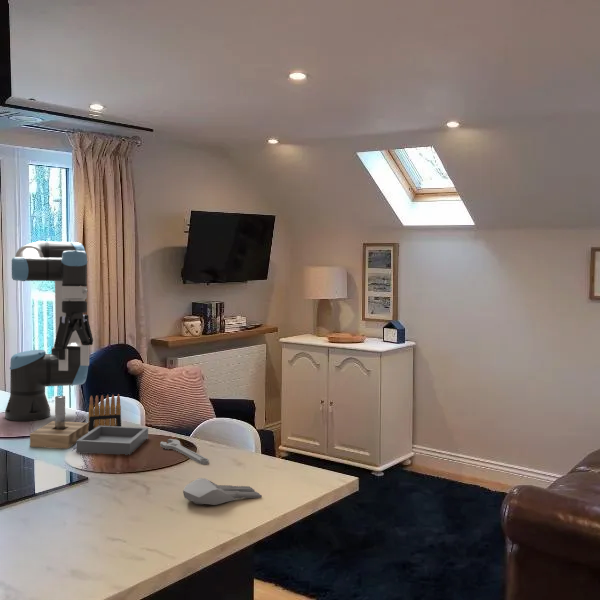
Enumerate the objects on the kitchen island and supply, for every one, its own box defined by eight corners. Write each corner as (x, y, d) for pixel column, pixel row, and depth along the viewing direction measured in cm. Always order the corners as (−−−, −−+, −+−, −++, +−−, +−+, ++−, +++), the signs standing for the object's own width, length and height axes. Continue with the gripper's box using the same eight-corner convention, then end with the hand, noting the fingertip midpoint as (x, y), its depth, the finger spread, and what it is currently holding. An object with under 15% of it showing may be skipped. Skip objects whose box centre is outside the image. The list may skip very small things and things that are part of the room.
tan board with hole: (52, 433, 232) (52, 421, 232) (88, 434, 231) (88, 422, 231) (30, 446, 216) (30, 433, 216) (68, 448, 215) (68, 435, 215)
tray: (98, 436, 230) (98, 425, 230) (148, 438, 228) (148, 427, 228) (76, 452, 211) (76, 440, 211) (129, 455, 210) (129, 443, 210)
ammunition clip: (88, 431, 235) (88, 396, 234) (87, 430, 236) (88, 395, 236) (121, 429, 239) (121, 394, 238) (120, 428, 241) (120, 393, 240)
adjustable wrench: (210, 465, 204) (210, 459, 204) (190, 468, 201) (190, 462, 201) (175, 443, 225) (175, 437, 225) (156, 446, 222) (156, 440, 221)
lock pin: (57, 439, 225) (57, 395, 224) (66, 439, 225) (66, 396, 224) (53, 441, 222) (53, 397, 221) (62, 442, 222) (62, 398, 221)
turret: (263, 509, 176) (266, 490, 176) (187, 509, 167) (191, 489, 167) (247, 496, 185) (250, 478, 185) (175, 495, 176) (178, 476, 176)
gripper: (65, 301, 208) (65, 373, 209) (103, 299, 233) (103, 363, 233) (41, 300, 210) (41, 372, 210) (82, 299, 234) (82, 363, 235)
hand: (74, 368), depth 222 cm, fingers open, 13 cm apart
